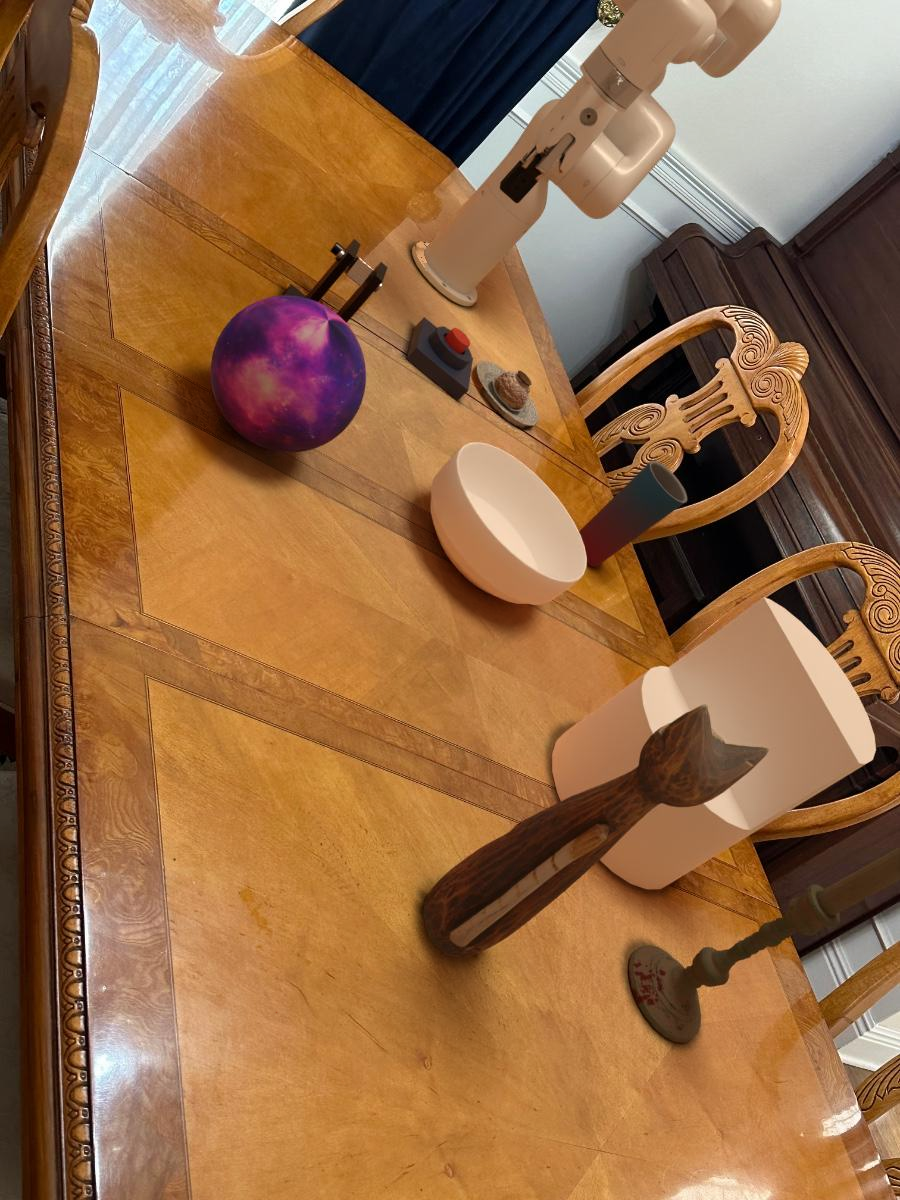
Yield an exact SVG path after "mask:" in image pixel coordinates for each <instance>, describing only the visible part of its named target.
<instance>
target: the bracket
mask: <svg viewBox="0 0 900 1200" xmlns="http://www.w3.org/2000/svg"><path fill="white" fill-rule="evenodd" d="M361 245H362V244H361V243H360V242H359V241H358V240H357V239H355V238H354V239H352V240H351V241H350V243H349V244H348V245H347V246H346V248H345V250H343V249H341V250H340V251H339V253H338V254H337V255H336V256H335V257H334V260H335V261H334V262H333V263H332V264H331V266H330V267H329V268H328V269H327V271H326V272H325V273H324V274H323V275H322V276H321V278H320V279H319V280H318V282H317V283H316V284H315V285H314V286H313V287H312V288H311V290H310V291H309V292H308V293H307V295H306V294H304V293H303V292H302V291H301V290H300V289H299V288H297V287H296V286H295V285H293V284H292V283H290V284H289V286H288V287H287V288H286V289H285V291H284V292H283V294H282V296H298V297H303V298H307V299H311V300H314V301H316V302H319V303H320V301H321V300H322V298H323V297H324V296H325V295H326V294H327V293H328V291H329V290H330V289H331V288H332V287H333V285H334V284H335V283H336V282H337V280H339V278H340V277H341V276H342V275H343V273H345V270H346V269H347V268H348V266H349V265H350V264H351V263H352V261H353V260H354V259H355V258H356V256H358V252H359V250H360V248H361ZM388 269H389V267H388V266H387V265H386V264H385V263H384V262H382V261H380V262H379V263H378V265H376V267H375V268H374V269H373V272H372V273H371V274H370V276H369V277H368V278H367V280H366V281H365V282H364V283H363V285H362V286H358V288H357V289H356V290H355V291H354V292H353V294H352V295H351V296H350V297H348V299H347V300H346V301H345V303H344V304H343V305H342V306H341V308H340V309H339V310H338V311H337V312H336V314H337V315H339V316H340V317H341V318H342V319H343V320H344V321H345V322H346V324H348V322H349V321H350V320H351V319H352V318H353V316H354V315H355V314H356V313H357V312H358V311H359V310H360V309H361V307H362V306H363V305H364V304H365V303H366V302H367V300H368V299H369V298H370V297H371V296H372V295H373V294H374V293H375V294H376V293H377V292H378V291H379V290H381V288H382V286H383V285H384V283H383V282H384V279H385V277H386V274H387V270H388Z"/></svg>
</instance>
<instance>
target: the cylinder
mask: <svg viewBox="0 0 900 1200" xmlns="http://www.w3.org/2000/svg"><path fill="white" fill-rule="evenodd" d="M842 669H843V668H841V666H840V665H839V664H838V662H837V661H836V660H835V658H834V657H833V655H831V653H830V652H829V651H828V649H827V648H826V647H825V646H824V645H823V643H822V642H821V641H820V640H819V639H818V638H817V637H816V636H815V635H814V633H812V631H811V630H810V629H808V628H807V627H806V625H805V624H803V622H802V621H801V620H799V619H798V618H797V617H796V616H794V614H792V613H791V612H790V611H789V610H787V609H786V608H785V607H783V606H782V605H780V604H779V603H777V602H775V601H774V600H772V599H770V598H768V597H765V596H763V597H762V598H761V599H759V600H758V601H756V602H755V603H754V604H752V605H750V607H748V608H747V609H745V610H744V611H743V612H742V613H740V614H739V615H737V616H736V617H735V618H733V619H732V620H731V621H729V622H728V623H727V624H725V625H723V626H722V627H721V628H720V629H718V630H717V631H716V632H714V633H713V634H712V635H710V636H709V637H707V638H706V639H705V640H703V641H702V642H701V643H700V644H698V645H696V646H695V647H694V648H693V649H691V650H690V651H688V652H687V653H686V654H684V655H683V656H681V657H680V658H679V659H677V660H676V661H675V662H673V663H672V664H671V665H669V666H665V665H658V666H654V667H651V668H649V669H648V670H647V671H645V672H644V673H642V674H641V675H640V676H638V677H637V678H636V679H635V680H633V681H632V682H630V683H629V684H628V685H627V686H625V687H623V689H621V690H620V691H618V692H617V693H616V694H613V696H611V697H610V698H609V699H608V700H606V701H605V702H603V703H602V704H601V705H599V706H598V707H597V708H595V709H594V710H592V711H591V712H590V713H589V714H587V715H586V716H585V717H583V718H582V719H581V720H579V721H578V722H577V723H575V724H574V725H572V726H571V727H570V728H569V729H567V730H566V731H565V732H563V733H562V734H561V735H560V736H559V737H558V738H557V739H556V740H555V744H554V747H553V750H552V752H551V773H552V776H553V780H554V786H555V788H556V793H557V796H558V798H559V800H560V802H561V801H563V800H564V799H566V798H568V797H570V796H573V795H576V794H578V793H581V792H583V791H585V790H588V789H591V788H593V787H596V786H598V785H601V784H604V783H606V782H608V781H611V780H613V779H615V778H617V777H619V776H622V775H624V774H626V773H628V772H630V771H632V770H633V769H635V768H636V767H638V766H639V758H640V753H641V750H642V748H643V746H644V744H645V743H646V741H647V740H648V739H649V737H650V736H651V735H652V734H653V733H654V732H655V731H657V730H658V729H659V728H660V727H663V726H665V725H667V724H669V723H672V722H673V721H674V720H676V719H677V718H679V717H680V716H682V715H683V714H685V713H687V712H689V711H691V710H693V709H695V708H697V707H699V706H701V705H707V706H708V712H709V716H710V722H711V728H712V729H713V730H714V731H715V732H716V733H717V734H718V735H719V736H720V737H721V738H722V739H723V740H724V742H725V743H726V744H734V745H739V746H750V747H764V748H769V751H768V753H767V754H766V756H765V757H764V758H763V759H762V760H761V761H760V762H759V763H758V764H757V765H756V766H755V767H754V768H753V769H752V770H751V771H750V772H748V773H747V774H746V775H745V776H744V777H742V778H741V779H740V780H739V781H737V782H736V783H735V784H733V785H732V786H731V787H730V788H728V789H727V790H726V791H725V792H723V793H722V794H720V795H719V796H717V797H715V798H714V799H712V800H710V801H708V802H705V803H703V804H700V805H697V806H691V807H673V806H669V805H666V804H663V803H661V804H659V805H657V806H656V807H655V808H653V809H652V810H651V811H649V812H648V813H647V814H646V815H645V816H644V817H643V818H642V819H641V820H640V821H638V822H637V823H636V824H635V825H634V826H633V827H632V828H631V829H630V830H629V831H628V832H627V833H626V834H625V835H624V836H623V837H622V838H621V839H620V840H619V841H618V842H617V843H616V844H615V845H614V846H613V847H612V848H611V849H610V850H609V851H608V852H607V853H606V854H605V855H604V856H603V857H602V858H601V859H600V860H599V861H600V862H601V863H602V864H603V865H604V866H605V867H606V868H607V869H609V871H611V873H612V874H615V875H616V876H618V877H619V878H621V879H622V880H624V881H626V882H627V883H628V884H630V885H632V886H636V887H639V888H641V889H645V890H661V889H664V888H665V887H667V886H668V885H671V884H672V883H674V882H675V881H677V880H678V879H680V878H682V877H683V876H685V875H687V874H688V873H690V872H692V871H693V870H694V869H696V868H699V867H700V866H701V865H703V864H704V863H706V862H708V861H710V860H711V859H712V858H715V857H716V856H718V855H719V854H721V853H723V852H724V851H726V850H727V849H729V848H731V847H733V846H734V845H735V844H737V843H739V842H741V841H742V840H744V839H746V838H747V837H749V836H750V835H752V834H754V833H756V832H757V831H759V830H760V829H762V828H764V827H765V826H767V825H769V824H770V823H772V822H773V821H775V820H776V819H778V818H780V817H782V816H784V815H785V814H787V813H788V812H790V811H791V810H793V809H795V808H796V807H798V806H800V805H801V804H803V803H804V802H806V801H809V799H811V798H813V797H814V796H816V795H818V794H819V793H821V792H822V791H824V790H826V789H827V788H829V787H830V786H831V787H832V785H834V784H836V783H837V782H839V781H840V780H842V779H844V778H846V777H848V776H849V775H850V774H852V773H854V772H855V771H857V770H859V769H860V768H862V767H864V766H865V765H866V764H868V763H870V762H872V761H873V760H874V757H875V754H876V751H877V746H876V736H875V733H874V730H873V727H872V723H871V721H870V718H869V715H868V713H867V710H866V709H865V707H864V704H863V702H862V701H861V698H860V696H859V695H858V693H857V692H856V690H855V688H854V686H853V685H852V683H851V681H850V680H849V678H848V677H847V675H846V674H845V672H844V671H843V670H842Z"/></svg>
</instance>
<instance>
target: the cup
mask: <svg viewBox="0 0 900 1200" xmlns="http://www.w3.org/2000/svg"><path fill="white" fill-rule="evenodd" d="M687 501H688V495H687V492H686V489H685V488H684V486H683V485H682V483H681V482H680V480H679V479H678V478H677V476H676V475H675V474H674V473H673V472H672V471H671V470H670V469H669V468H668V467H667V466H666V465H664V464H663V463H661V462H659V461H657V460H649V462H648V464H646V465H645V466H644V467H643V468H642V469H641V470H640V471H639V472H638V473H637V474H636V475H635V476H634V477H633V478H632V479H631V480H630V481H629V482H627V484H626V485H625V486H623V488H621V490H619V492H618V493H616V495H614V496H613V497H612V498H611V499H610V501H608V502H607V503H606V504H605V505H603V507H602V508H601V509H600V510H599V511H598V512H597V513H596V514H595V515H594V516H593V517H592V518H591V519H590V520H589V521H588V522H587V523H585V525H584V526H583V527H582V528H581V529H580V530H578V531H579V533H580V535H581V538H582V541H583V544H584V546H585V551H586V557H587V565H586V566H589V567H592V568H597V567H598V566H600V565H601V564H603V563H604V562H605V561H607V560H608V559H609V558H611V557H612V556H614V555H615V554H616V553H618V552H619V551H620V550H622V549H623V548H625V547H626V546H627V545H629V544H631V543H632V542H633V541H635V540H636V539H637V538H639V537H640V536H642V535H643V534H644V533H645V532H647V531H648V530H649V529H651V528H653V527H654V526H655V525H656V524H658V523H659V522H661V521H662V520H664V519H665V518H666V517H668V516H669V515H670V514H671V513H673V512H674V511H675V510H677V509H679V508H680V507H681V506H683V505H684V504H686V503H687Z"/></svg>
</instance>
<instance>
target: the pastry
mask: <svg viewBox="0 0 900 1200" xmlns="http://www.w3.org/2000/svg"><path fill="white" fill-rule="evenodd" d="M476 375H477V377H478V380H479V382H480V384H481V385H482V386H481V393H482V394H483V396H484V398H485V400H487V402H488V403H489V404H490V406H492V408H493V409H494V410H495V411H497V412H498V413H499V415H500V416H501V418H504V419H505V420H506V422H507V421H508V422H509V423H511V424H512V425H513V426H515V427H519V428H525V427H528V426H529V427H533V426H536V425H537V424H538V423H539V418H540V417H539V413H538V410H537V407H536V405H535V403H534V401H533V399H532V398H531V397H530V395H529V394H530V392H531V387H530V386H532V385H533V383H532V381H531V379H530V377H529V376H528V375H527V374H526V373H525V372H524V371H522V370H517V371H507V370H505V369H503V368H502V367H501V366H499V365H498V364H496V363H494V362H492V361H488V360H481V361H479V362H478V363H477V365H476Z"/></svg>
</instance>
